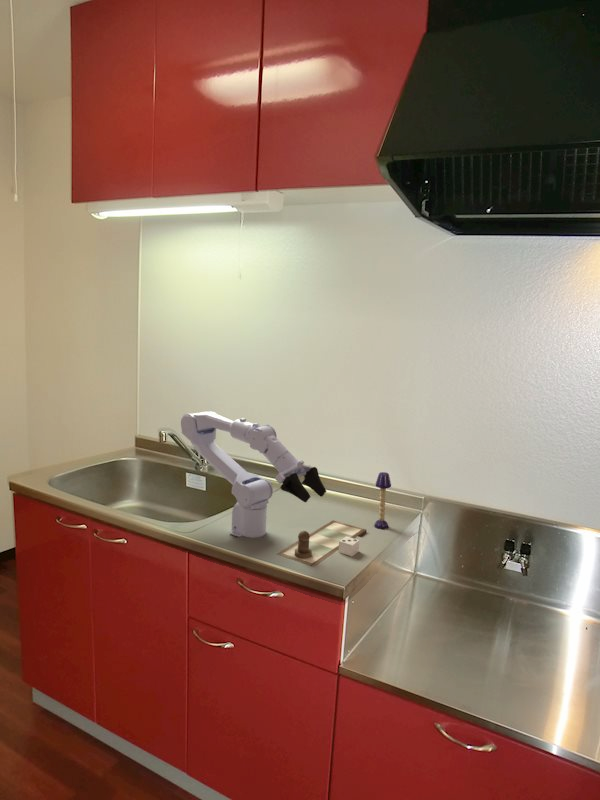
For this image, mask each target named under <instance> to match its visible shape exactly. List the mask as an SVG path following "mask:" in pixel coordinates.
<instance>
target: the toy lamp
mask: <svg viewBox="0 0 600 800" xmlns="http://www.w3.org/2000/svg"><path fill="white" fill-rule="evenodd" d="M375 487H377V488H379V490H380V492H379V508H378V509H379V511H378V515H379V517H378V519H377V520H376V521H375V522H374V525H373V526H374V528H376V527H377V529H379V528H381V529H380V530H385V528H386V529H388V528H389V524H388V522H387V521H386V520H385V516H386V512H385V510H386V506H385V505H386V502H385V501H386V490H387V489H389V488H391V487H392V483H391V478H390V474H389V473H388V472H385V471H384V472H383V471H381V472H379V473H378V476H377V478H376V481H375Z"/></svg>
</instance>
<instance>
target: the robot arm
mask: <svg viewBox="0 0 600 800" xmlns="http://www.w3.org/2000/svg"><path fill="white" fill-rule="evenodd" d="M180 426H181V427H180V428H181V434H182V435H183V436H184V437H185V438H186V439H188V440H189V441H190V443H191V444H192V446H193V448H194V449H195V452H196V453H197V454H199V455H200V456H201V457H202V458H203V459H204V460H206V462H207V463H208V464H209V465H211V467H213V468H214V470H216V471H217V472H218V473H219V474H220V475H221V476H222V477H223V478H224V479H225V480H226V481H228V482H229V483H230V484H231V485H232V487H231V494H232V495H233V496H234V497H235V499H236V503H235V504H234V505H233V507H232V511H231V531H230V532H229V534H230V535H232V536H235V537H238V538H240V537H242V536H244V537H247V538H252V539H253V538H261V537H264V535H266V534H267V533H266V532H267V531H266V530H267V509H268V508H267V507H268V504H269V500H270V499H271V498H272V497H273V494H274V487H273V485H272V483H271V482H270V480H268V479H267V478H265V477H264V478H263V477H262V476H260V475H258V474H255V473H252V472H248V471H247V470H246V469H245V468H243V466H241V465H240V464H239V463H238V462H237V461H235V460H234V459H233V458H232V457H231V456H230V455H229V454H228V453H226V452H225V450H223V449H222V448H221V447H220V446H218V445H217V443H216V442H215V440H216V437H217V430H219V431H224V432H227V433H230V436H231V437H232V438H233V439H234V440H238V441H240V442H243V443H246V444H248V445H249V447H250V448H251V449H252V450H255V451H258V452H259V453H260V454H263V456H264V457H265V458H266V459H267V461H269V463H270V464H271V465H272V466H273V467H274V468H275V469H276V470H277V472H278V474H277V475H276V477H275V478H274V479H275V480H276V482H277V483H278V484H279V485H281V486H279V487H280V490H281V491H284V492H287V493H289V494H290V495H293V496H294V497H296V498H298V499H299V500H301V501H302V502H304V503H307V502H308V501H309V499H310V498H311V494H310V493H309V492H308V490H307V489H306V488H305V486H307V487H308V488H310V489H311V490H312V491H313V492H314V493H316V495H317V496H319V497H323V496H324V495H325V494H326V492H327V490H326V487H325V486H324V484H323V482H322V480H321V478H320V475H319V470H318V468H317V467H316V466H311V465H310V464H305V462H304V460H298V459H297V458H296V457H295V456H294V455H293V453H291V452H290V451H289V449H287V447H286V446H285V445H284V444H283V443H282V441H280V440H279V439H278V438H277V431H276V430H275V428H273V426H271V425H269V424H265V425H262V426H261V425H259V423H257V422H253V423H252V422H251V421H247V419H246V418H245V417H242V418H241V417H240V418H237V419H235V420H232V419H230V418H228V417H224V416H222V415H220V414H218V413H217V412H216V411H211V410H206V411H202V412H195V413H185V414H183V415H182V417H181V419H180ZM299 477H301V478H302V477H303V478H304V479H303V481H302V482H301V479H300V478H299Z"/></svg>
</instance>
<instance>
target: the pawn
mask: <svg viewBox="0 0 600 800" xmlns="http://www.w3.org/2000/svg"><path fill="white" fill-rule="evenodd" d="M309 534H310V533H309V532H308V531H307V530H302V531H299V533H298V535H297V536H298V537H297V539H298V540H297V541H298V548H297V549H295V556H296V557H298V558H303V559H305V558H309V557H311V555H312V551H311V550H310V549H309V539H310V535H309Z"/></svg>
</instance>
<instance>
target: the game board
mask: <svg viewBox="0 0 600 800" xmlns="http://www.w3.org/2000/svg"><path fill="white" fill-rule="evenodd" d="M364 533H365V534H367V529H365V528H363V527H358V526H355V525H351V524H347V523H344V522H341V521H337V520H334V519H333V520H331V521H329V522H328V523H326V524H324V525H323V526H320V527H319V528H317V529H315V530H314V531H312V532H311V533H309V535H310V539H309V549H310V550H311V551H312V555H311V557H309V558H305V559H303V558H298V557H296V556H295V549H297V548H298V540H297V541H296V542H294V543H292V544H291V545H289V546H287V547H285V548H283V550H280V551H279V552H277V553H276V555H277V556H280V557H283V558H286V559H290V560H293V561H295V562H299V563H301V564H304V565H307V566H310V567H313V568H315V567H316V566H317V565H318V564H320V563H322V562H323V561H325V560H326V559H327V558H329V557H330V556H332V555H333V554H334V553H335V552H337V551H339V541H340V540H341V539H343V538H344V537H346V536H347V537H350V538H354V539H357V537H359V538H361V536H363V535H364Z"/></svg>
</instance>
